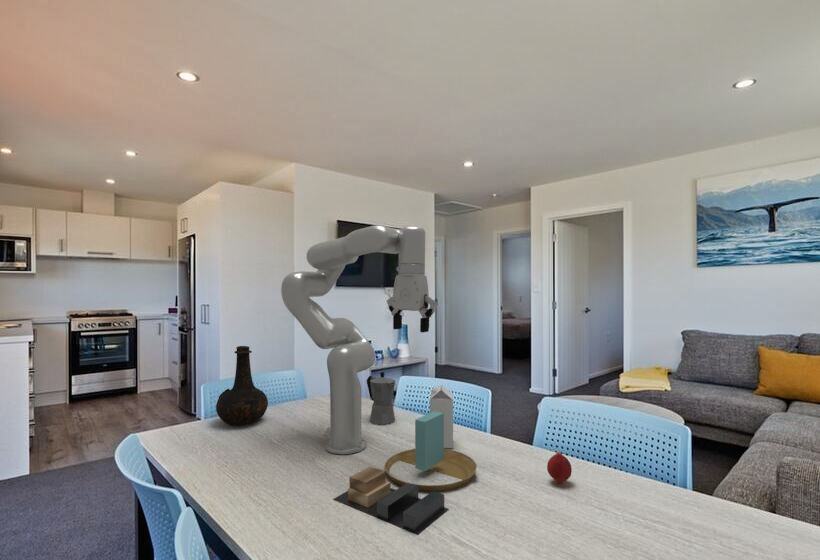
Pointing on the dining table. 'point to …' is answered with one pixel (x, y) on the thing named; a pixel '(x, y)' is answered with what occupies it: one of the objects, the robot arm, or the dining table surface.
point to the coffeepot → (381, 399)
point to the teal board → (429, 440)
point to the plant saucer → (438, 468)
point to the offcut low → (369, 495)
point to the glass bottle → (242, 395)
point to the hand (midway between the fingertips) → (410, 330)
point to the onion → (559, 467)
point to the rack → (403, 508)
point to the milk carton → (443, 411)
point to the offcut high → (367, 479)
